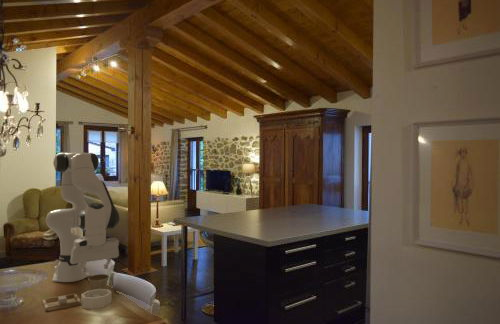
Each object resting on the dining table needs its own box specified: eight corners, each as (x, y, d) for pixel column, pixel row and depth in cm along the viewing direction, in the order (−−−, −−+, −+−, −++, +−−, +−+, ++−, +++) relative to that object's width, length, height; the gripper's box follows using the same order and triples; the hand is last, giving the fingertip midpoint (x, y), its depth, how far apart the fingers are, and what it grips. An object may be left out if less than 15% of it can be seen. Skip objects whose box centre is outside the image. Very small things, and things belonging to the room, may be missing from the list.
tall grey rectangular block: (91, 302, 168) (91, 295, 168) (98, 301, 170) (98, 293, 170) (94, 305, 165) (94, 297, 165) (101, 304, 166) (101, 296, 166)
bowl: (79, 303, 169) (79, 292, 169) (106, 298, 176) (106, 287, 176) (85, 312, 159) (85, 300, 159) (113, 306, 166) (113, 294, 166)
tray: (42, 304, 168) (42, 299, 168) (75, 297, 176) (75, 293, 176) (45, 312, 158) (45, 307, 158) (80, 305, 166) (80, 300, 166)
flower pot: (101, 299, 175) (101, 280, 175) (83, 297, 177) (83, 279, 177) (112, 292, 184) (112, 274, 184) (95, 290, 186) (95, 273, 186)
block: (57, 304, 166) (57, 296, 166) (65, 303, 168) (65, 295, 168) (59, 307, 163) (59, 299, 163) (66, 306, 164) (66, 298, 164)
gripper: (116, 236, 176) (116, 264, 176) (69, 241, 164) (69, 272, 164) (120, 238, 171) (120, 268, 171) (72, 243, 159) (72, 275, 159)
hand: (95, 270), depth 168 cm, fingers open, 8 cm apart
